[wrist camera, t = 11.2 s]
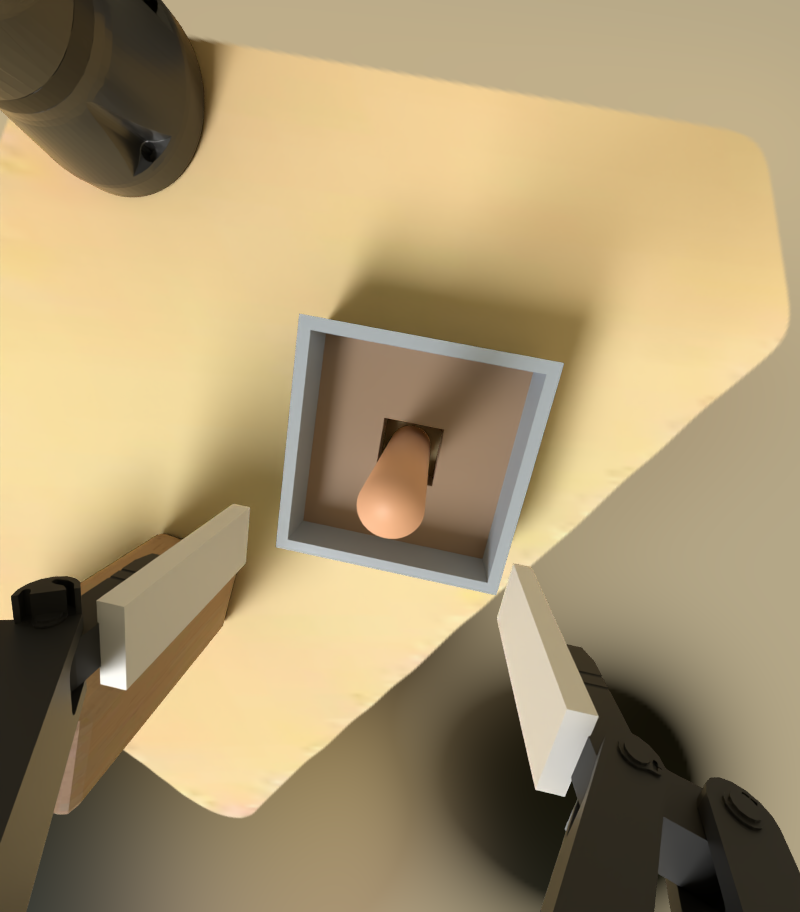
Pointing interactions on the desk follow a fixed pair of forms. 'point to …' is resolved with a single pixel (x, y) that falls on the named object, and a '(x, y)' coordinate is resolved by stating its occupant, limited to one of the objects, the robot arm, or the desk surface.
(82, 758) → the wooden block
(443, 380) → the bore box
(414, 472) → the peg
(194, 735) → the desk surface
